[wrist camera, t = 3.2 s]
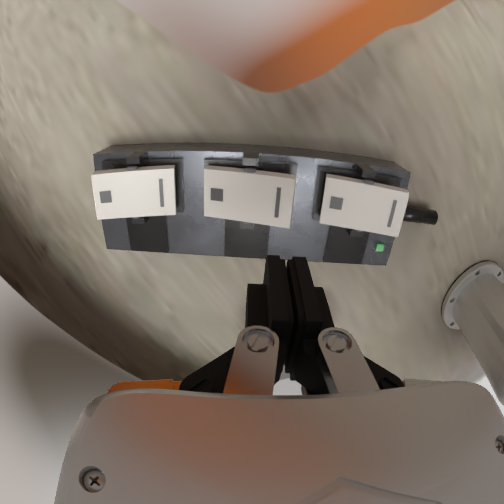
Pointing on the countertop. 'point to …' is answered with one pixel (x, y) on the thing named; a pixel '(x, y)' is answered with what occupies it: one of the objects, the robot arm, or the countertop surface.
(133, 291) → the countertop surface
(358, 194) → the rocker
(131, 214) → the rocker
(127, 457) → the robot arm
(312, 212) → the power strip
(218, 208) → the rocker
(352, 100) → the countertop surface
